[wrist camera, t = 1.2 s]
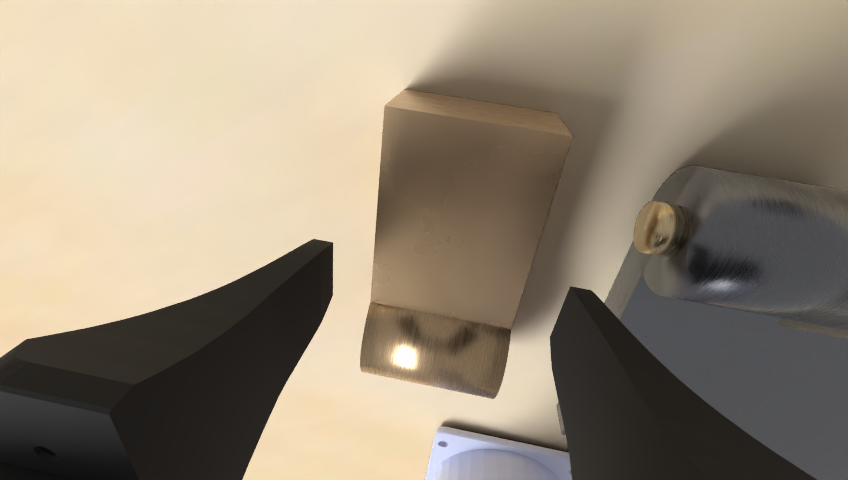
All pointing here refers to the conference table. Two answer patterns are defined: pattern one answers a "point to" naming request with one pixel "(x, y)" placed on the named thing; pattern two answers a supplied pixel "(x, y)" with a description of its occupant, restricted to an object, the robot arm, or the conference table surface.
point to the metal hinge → (748, 305)
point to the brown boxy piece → (456, 236)
